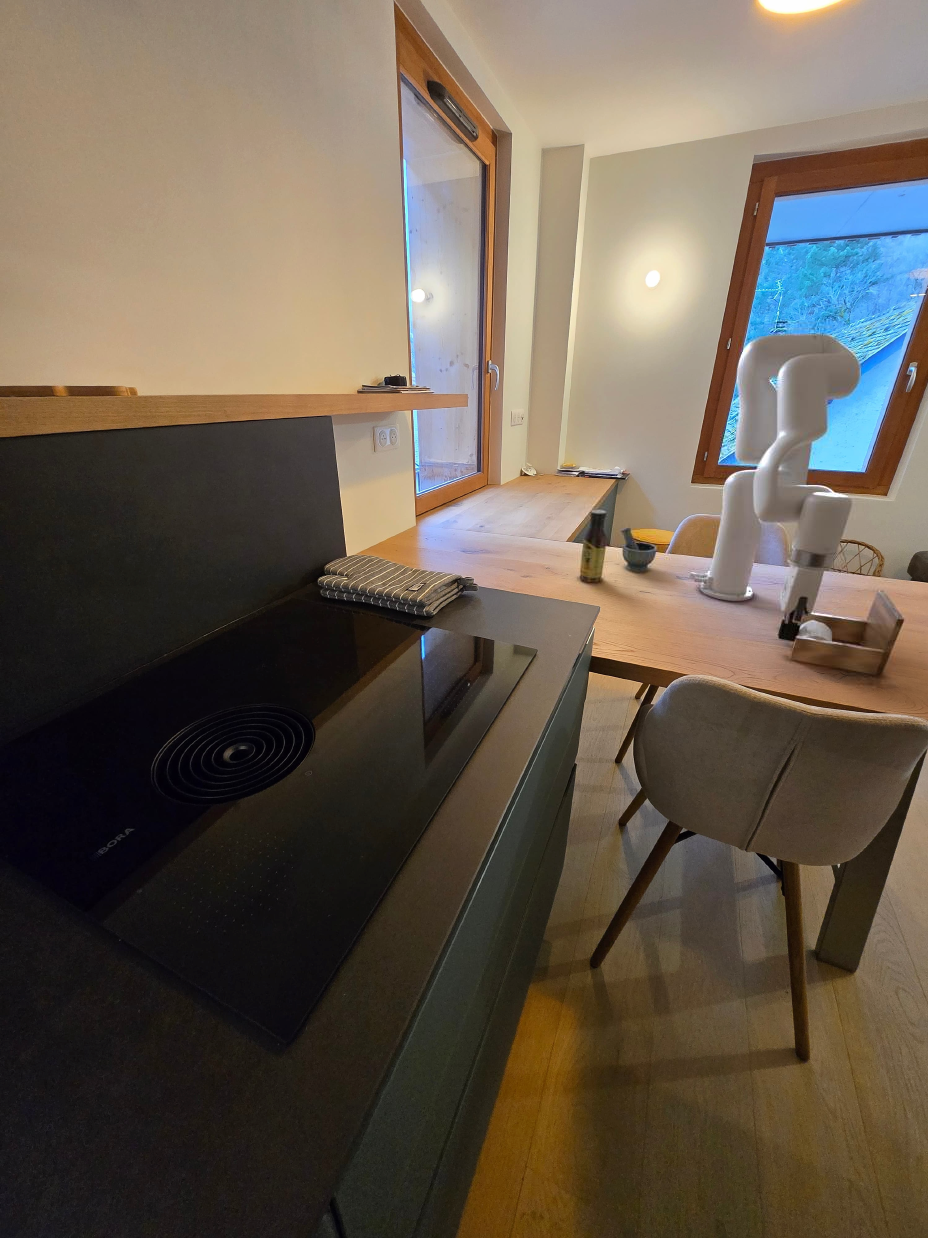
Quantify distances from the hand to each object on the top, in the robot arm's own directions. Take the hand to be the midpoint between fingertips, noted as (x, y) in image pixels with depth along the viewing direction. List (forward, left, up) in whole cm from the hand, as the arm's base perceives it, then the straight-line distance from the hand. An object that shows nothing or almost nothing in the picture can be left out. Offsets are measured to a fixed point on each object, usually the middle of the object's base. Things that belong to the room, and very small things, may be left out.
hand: (786, 638), depth 106 cm
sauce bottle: (-47, +21, -1) cm, 51 cm away
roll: (+5, 0, -1) cm, 5 cm away
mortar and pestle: (-37, +36, -1) cm, 51 cm away
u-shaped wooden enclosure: (+8, 0, -1) cm, 8 cm away
